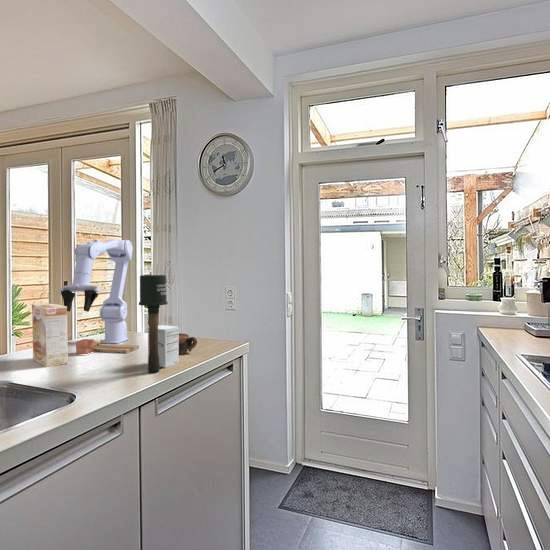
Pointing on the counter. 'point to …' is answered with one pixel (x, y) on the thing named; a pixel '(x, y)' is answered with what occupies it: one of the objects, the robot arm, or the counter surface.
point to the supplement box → (167, 345)
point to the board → (115, 348)
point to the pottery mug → (186, 343)
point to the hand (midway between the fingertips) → (76, 311)
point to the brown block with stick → (86, 346)
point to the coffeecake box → (49, 334)
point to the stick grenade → (153, 312)
